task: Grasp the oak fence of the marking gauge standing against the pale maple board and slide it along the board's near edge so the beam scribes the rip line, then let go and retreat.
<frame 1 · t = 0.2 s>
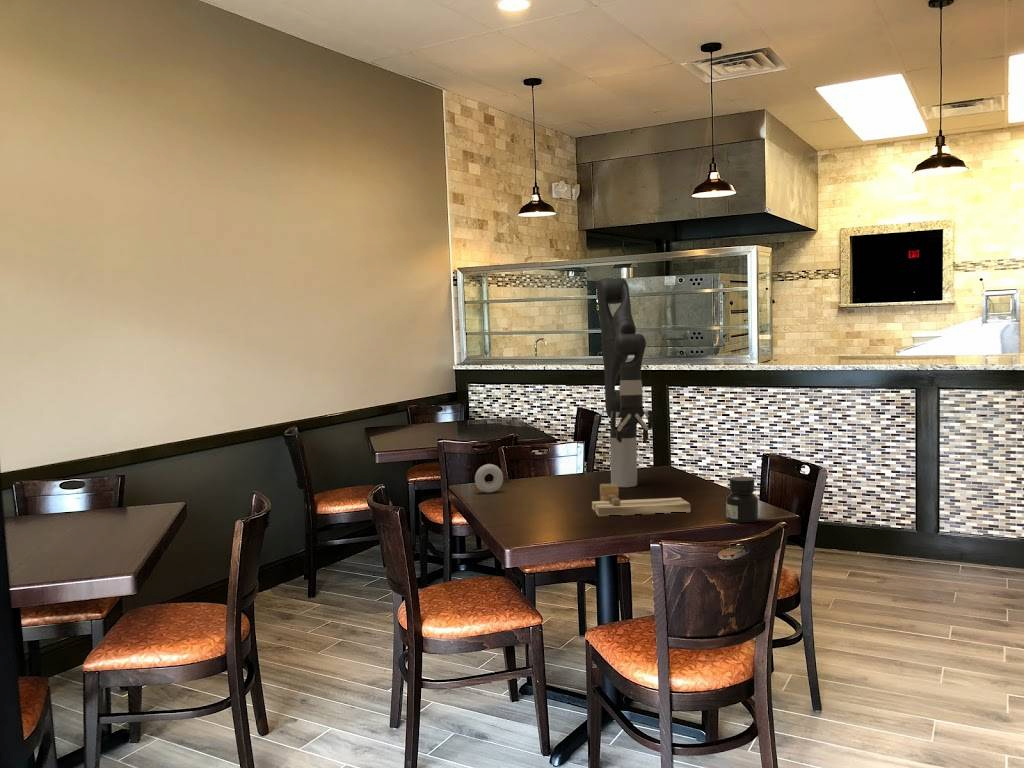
hand: (632, 441, 287), 17 cm above the table, tool pointing down, fingers open, 8 cm apart
donut: (489, 493, 295), on the table
ink bottle: (742, 520, 245), on the table
gauge: (609, 507, 267), on the table
board: (640, 510, 261), on the table
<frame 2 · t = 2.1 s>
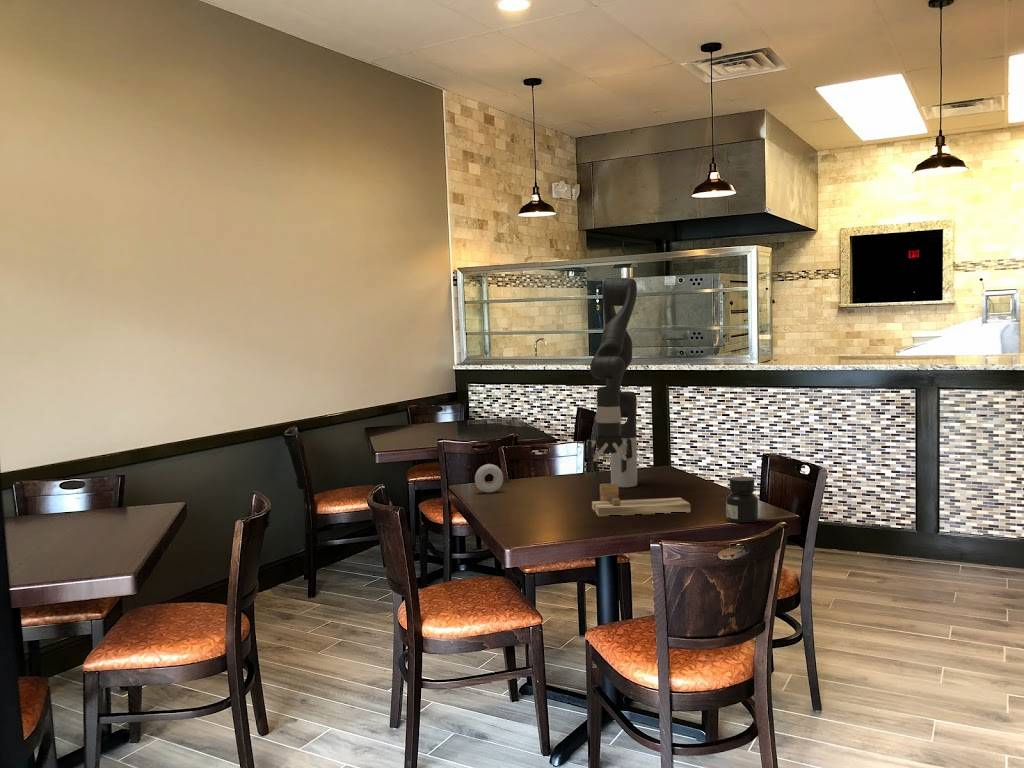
hand: (609, 472, 266), 11 cm above the table, tool pointing down, fingers open, 8 cm apart
nothing on the table moved.
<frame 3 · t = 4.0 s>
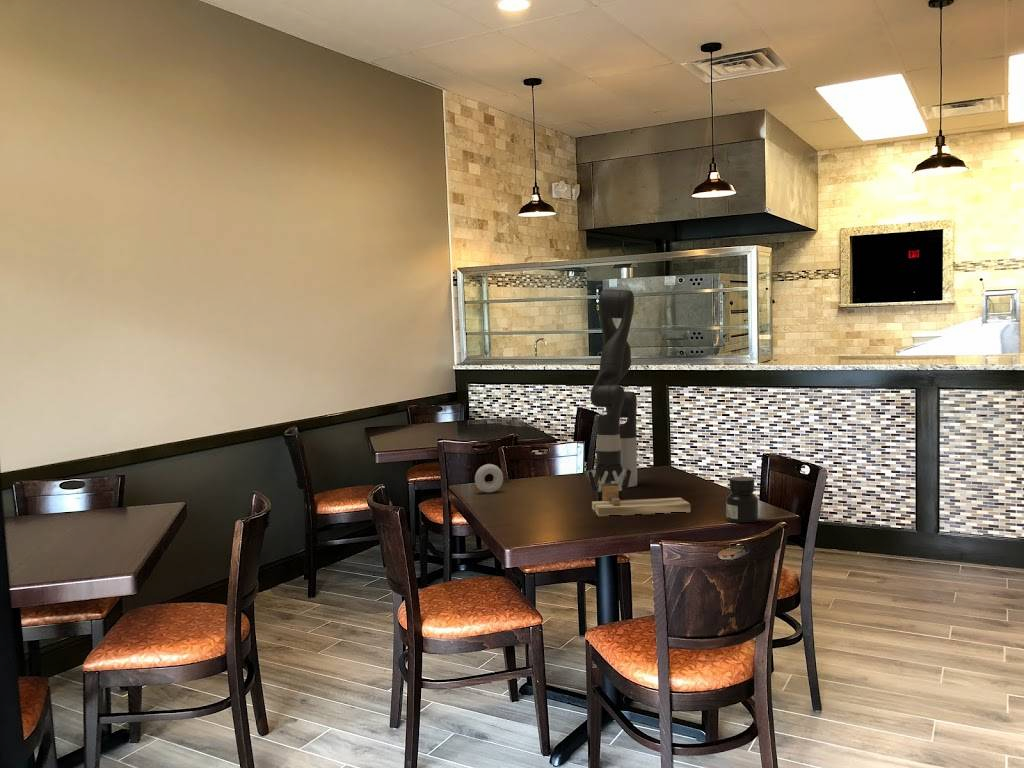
hand: (609, 502, 267), 1 cm above the table, tool pointing down, fingers closed on gauge, 5 cm apart
gauge: (609, 507, 267), on the table, touching gripper
everything else where it was.
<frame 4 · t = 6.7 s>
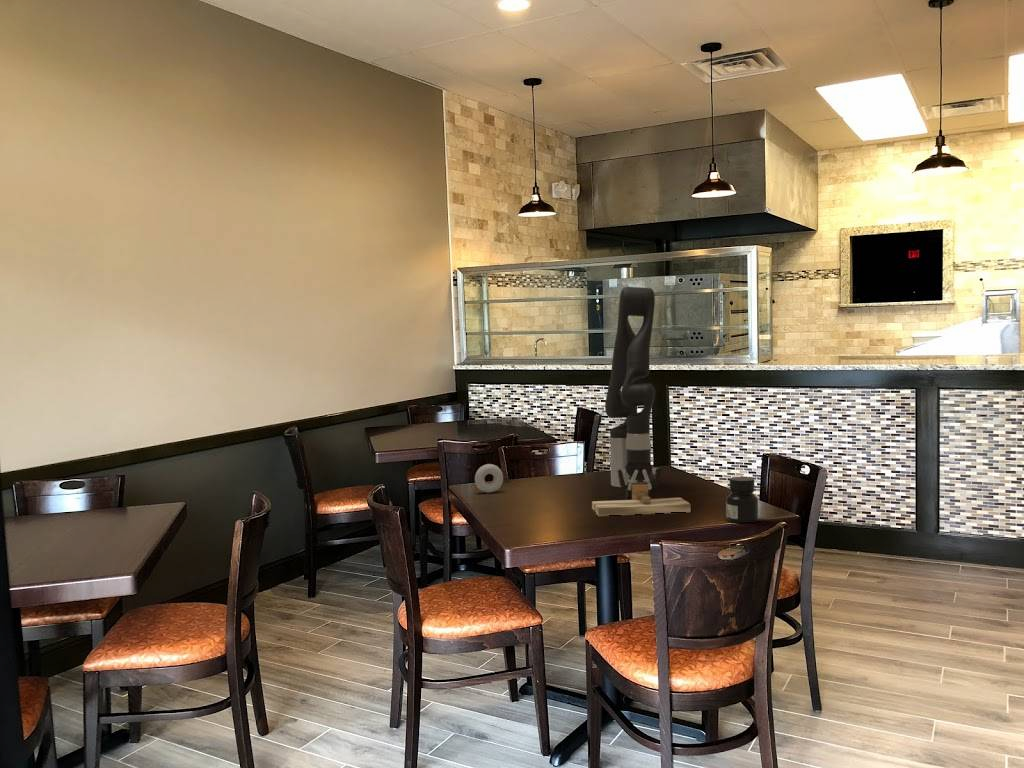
hand: (638, 501, 268), 1 cm above the table, tool pointing down, fingers closed on gauge, 5 cm apart
gauge: (639, 505, 268), on the table, touching gripper
everything else where it was.
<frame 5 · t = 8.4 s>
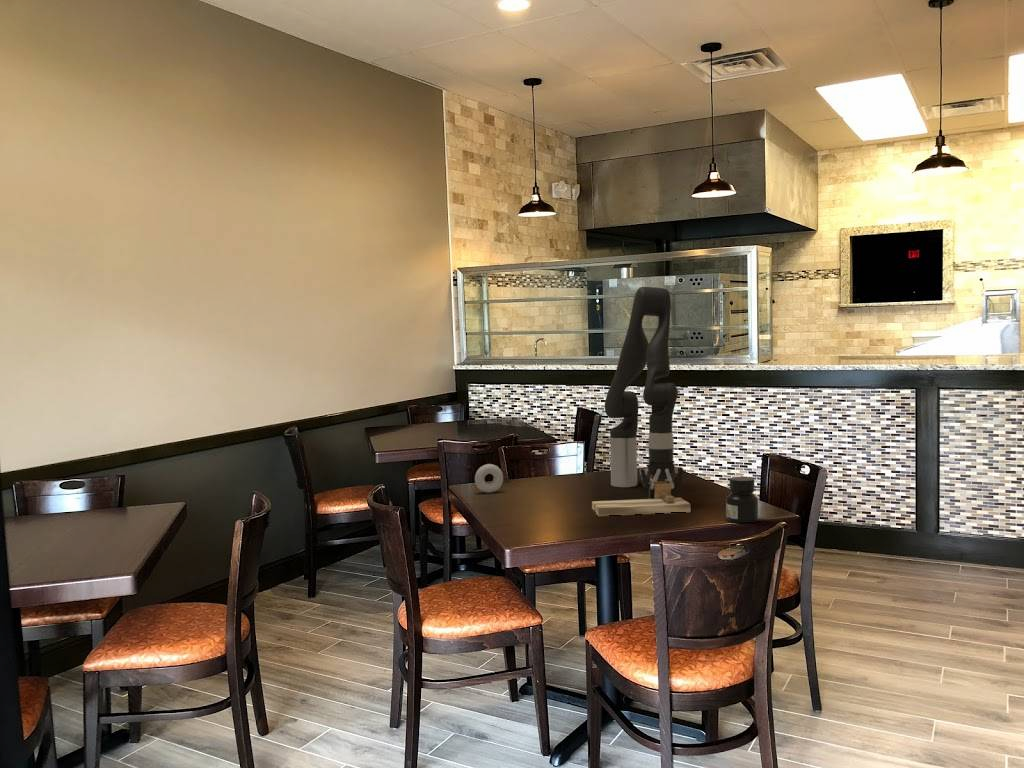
hand: (661, 500, 269), 1 cm above the table, tool pointing down, fingers closed on gauge, 5 cm apart
gauge: (661, 504, 269), on the table, touching gripper
everything else where it was.
when the fingers open (1 cm above the table, at t = 9.6 s): gauge stays where it is, on the table.
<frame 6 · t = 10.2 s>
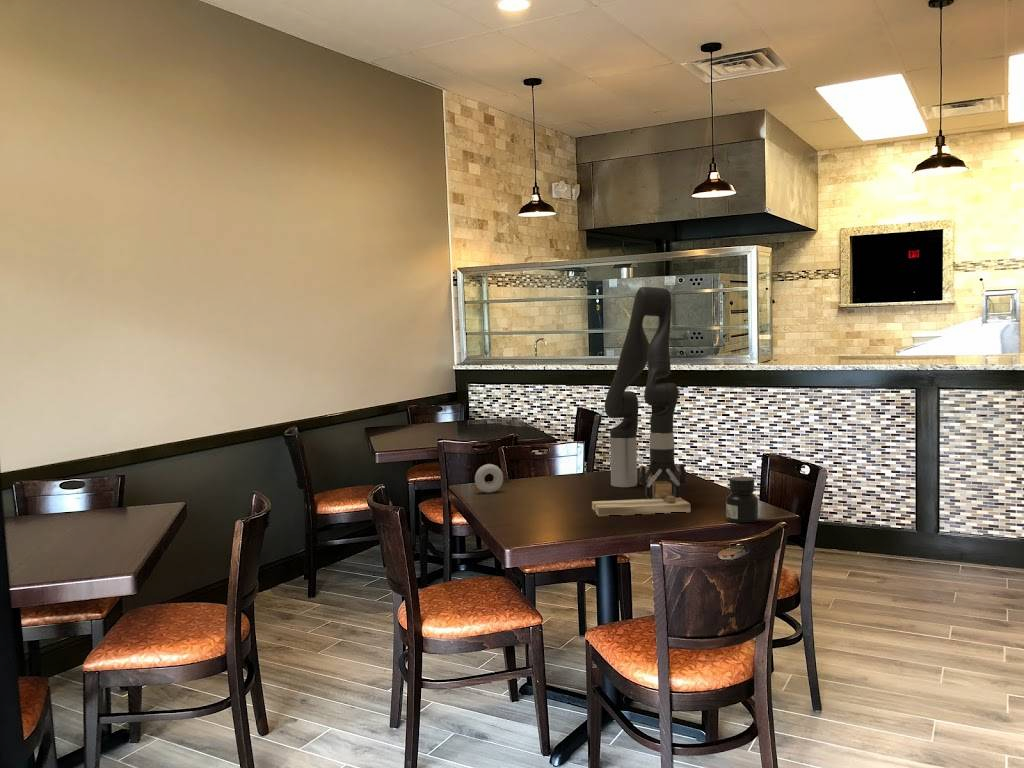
hand: (662, 497, 269), 2 cm above the table, tool pointing down, fingers open, 8 cm apart
gauge: (662, 504, 269), on the table
everything else where it was.
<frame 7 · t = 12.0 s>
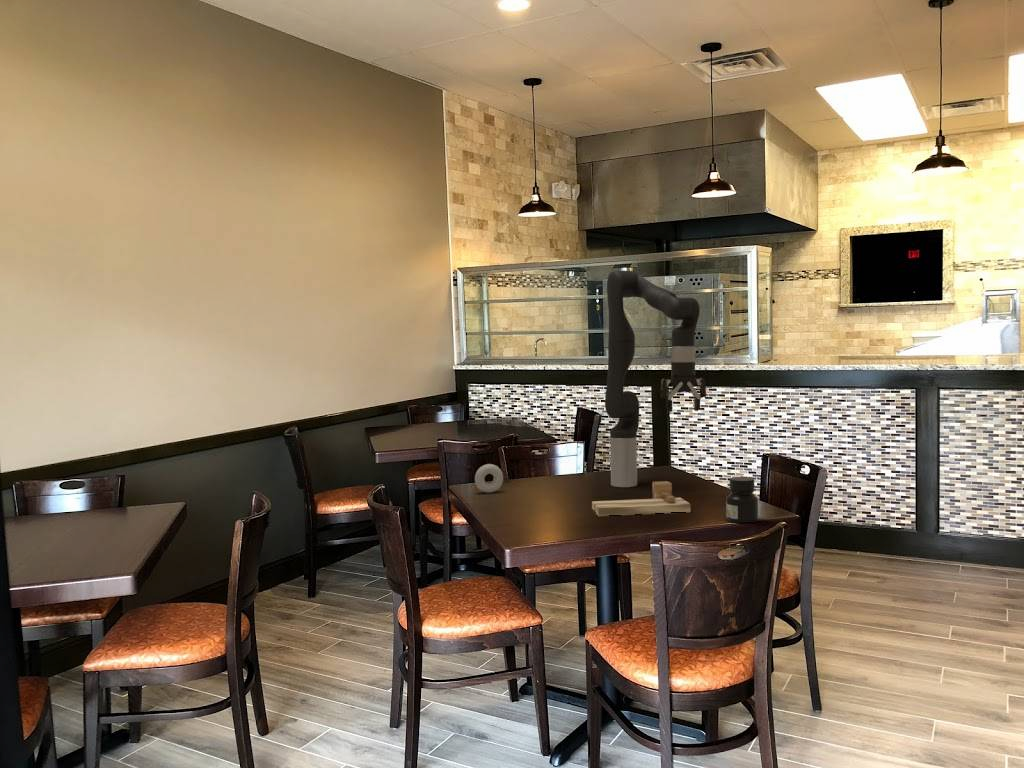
hand: (683, 411, 274), 29 cm above the table, tool pointing down, fingers open, 8 cm apart
nothing on the table moved.
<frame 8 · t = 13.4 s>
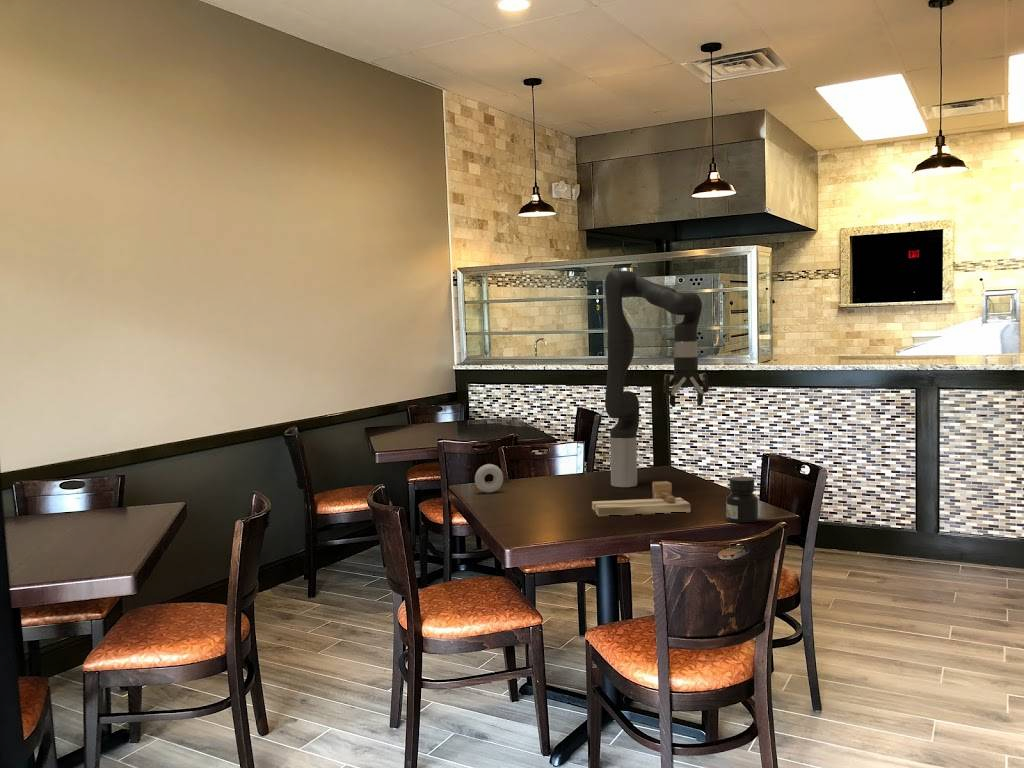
hand: (686, 406, 274), 30 cm above the table, tool pointing down, fingers open, 8 cm apart
nothing on the table moved.
at the end: gauge 0.6 cm from the target spot, on the table; gauge tilted 0°; the gripper is holding nothing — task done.
